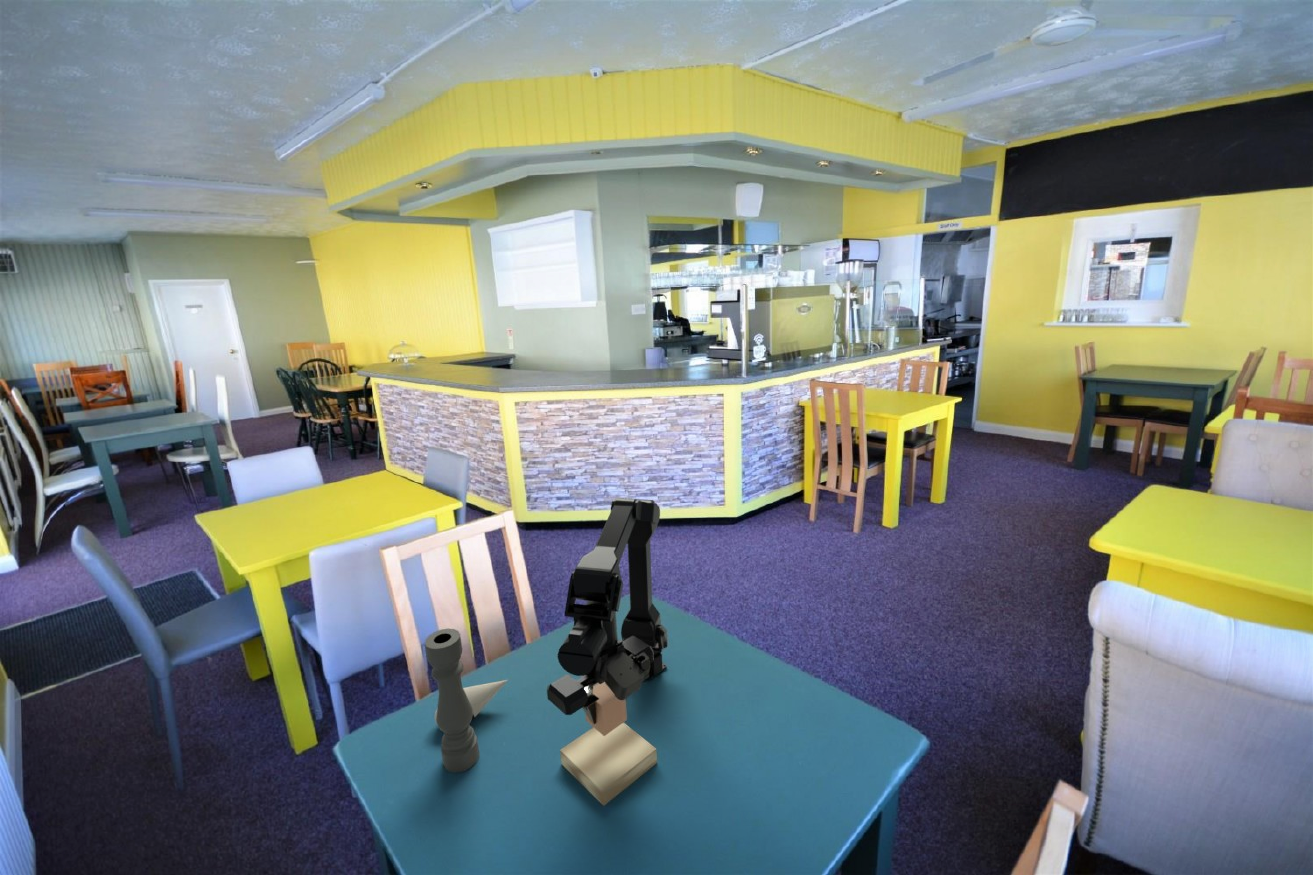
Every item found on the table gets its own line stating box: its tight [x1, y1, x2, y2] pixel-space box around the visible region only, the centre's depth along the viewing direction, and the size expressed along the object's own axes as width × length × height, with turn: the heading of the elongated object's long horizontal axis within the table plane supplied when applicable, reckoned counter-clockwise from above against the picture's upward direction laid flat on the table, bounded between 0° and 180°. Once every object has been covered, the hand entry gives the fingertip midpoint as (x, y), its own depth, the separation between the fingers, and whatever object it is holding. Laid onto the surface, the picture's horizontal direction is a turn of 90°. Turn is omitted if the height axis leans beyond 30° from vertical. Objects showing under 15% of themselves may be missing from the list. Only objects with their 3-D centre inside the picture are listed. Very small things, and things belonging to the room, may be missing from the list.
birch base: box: [559, 722, 658, 807], centre depth 101 cm, size 12×12×3 cm
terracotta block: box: [584, 682, 628, 736], centre depth 98 cm, size 5×5×6 cm
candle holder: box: [424, 628, 480, 774], centre depth 100 cm, size 6×6×25 cm
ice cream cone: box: [433, 679, 509, 725], centre depth 114 cm, size 6×6×15 cm
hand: (605, 714), depth 99 cm, fingers closed on terracotta block, 5 cm apart
